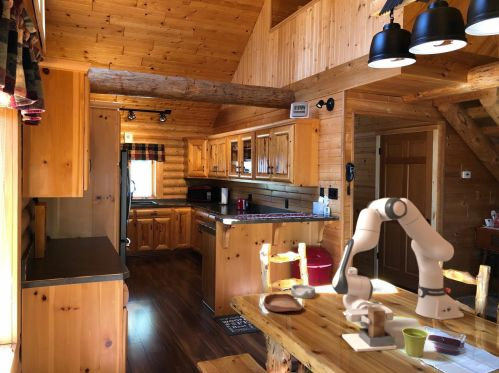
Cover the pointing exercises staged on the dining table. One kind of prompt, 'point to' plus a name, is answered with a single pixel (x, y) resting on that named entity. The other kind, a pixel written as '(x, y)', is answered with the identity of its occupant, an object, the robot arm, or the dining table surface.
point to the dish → (303, 291)
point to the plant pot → (414, 341)
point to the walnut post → (376, 321)
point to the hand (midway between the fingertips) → (377, 321)
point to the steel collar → (376, 338)
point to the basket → (281, 303)
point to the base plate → (363, 343)
